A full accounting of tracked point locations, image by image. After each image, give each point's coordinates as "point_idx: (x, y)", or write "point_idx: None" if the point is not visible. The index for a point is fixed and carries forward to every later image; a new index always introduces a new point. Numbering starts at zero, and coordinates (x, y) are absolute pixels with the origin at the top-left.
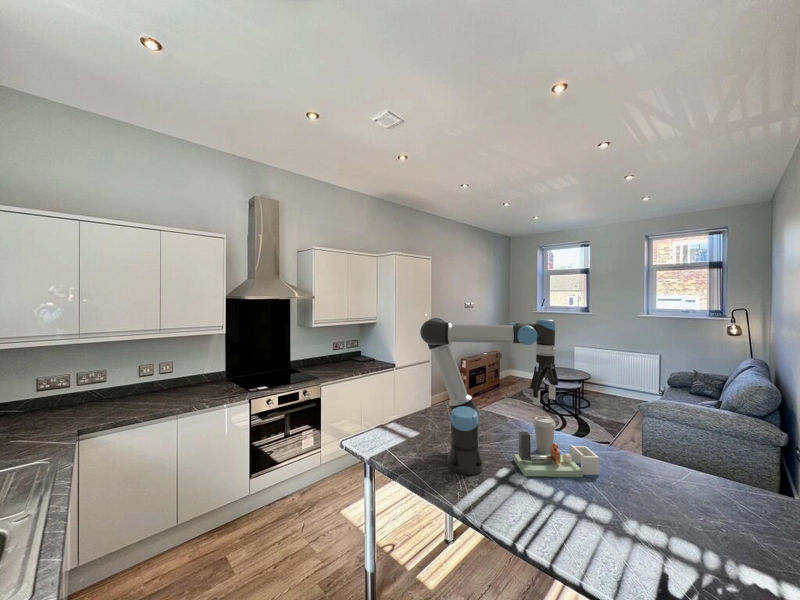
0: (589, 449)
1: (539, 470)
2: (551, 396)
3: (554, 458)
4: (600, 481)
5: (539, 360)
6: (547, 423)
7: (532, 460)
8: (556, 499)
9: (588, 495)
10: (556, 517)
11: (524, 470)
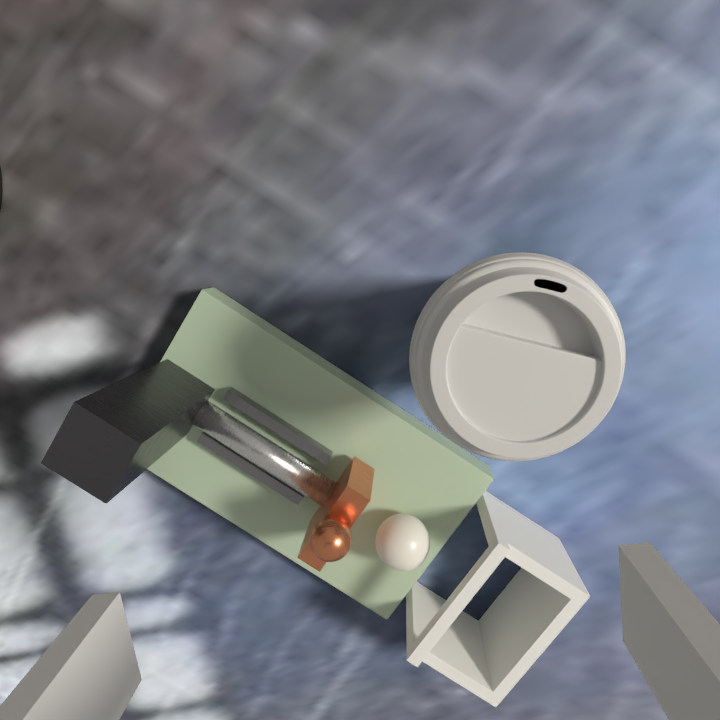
0: (559, 630)
1: (186, 492)
2: (641, 626)
3: (319, 511)
4: None
5: None
6: (464, 440)
7: None
8: None
9: (259, 680)
10: (16, 677)
11: None
